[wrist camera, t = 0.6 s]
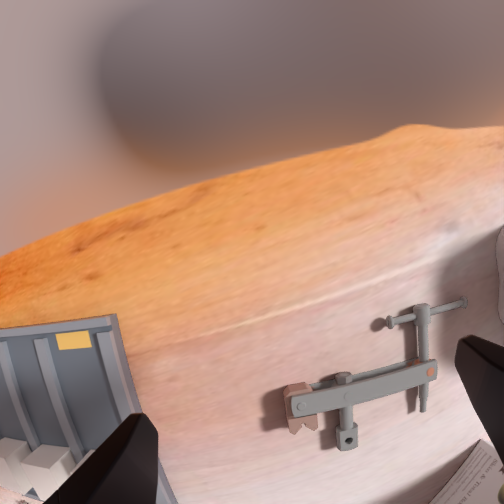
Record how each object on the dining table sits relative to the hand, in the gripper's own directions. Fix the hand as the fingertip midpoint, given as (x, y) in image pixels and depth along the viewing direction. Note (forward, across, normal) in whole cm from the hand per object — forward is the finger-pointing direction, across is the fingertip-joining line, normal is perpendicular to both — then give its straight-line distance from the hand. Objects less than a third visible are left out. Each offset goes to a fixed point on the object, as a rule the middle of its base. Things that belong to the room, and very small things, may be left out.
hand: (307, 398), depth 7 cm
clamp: (+11, -6, +12) cm, 17 cm away
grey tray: (+8, +21, +10) cm, 25 cm away
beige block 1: (+6, +26, +12) cm, 30 cm away
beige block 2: (+6, +21, +13) cm, 25 cm away
